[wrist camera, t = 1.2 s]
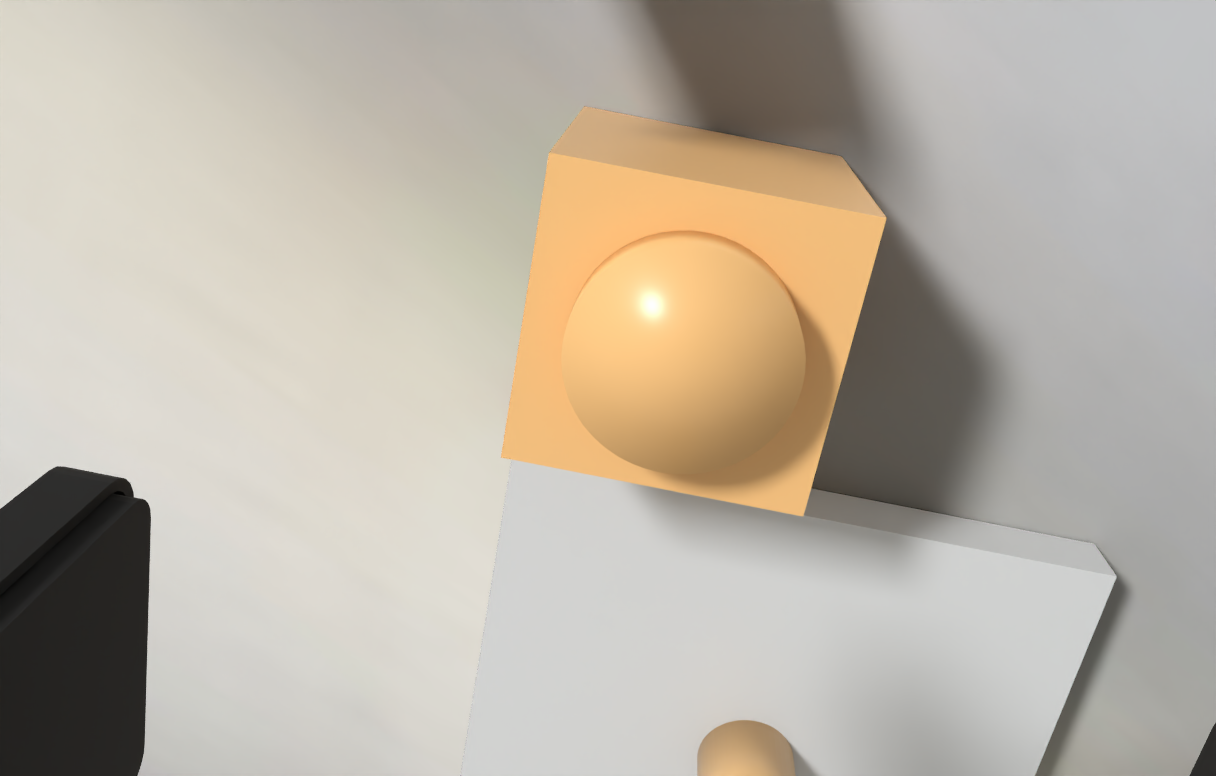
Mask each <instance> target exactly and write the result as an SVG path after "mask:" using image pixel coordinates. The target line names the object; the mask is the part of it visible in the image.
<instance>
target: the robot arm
mask: <svg viewBox="0 0 1216 776" xmlns="http://www.w3.org/2000/svg"><path fill="white" fill-rule="evenodd" d="M150 528H151V515H150V508H149V505H148V503H147V502H146V501H145V500H143V499H138V498H134V494H133V490H132V487H131V484H130V483H129V482H128V481H127V480H126V479H124V478H119V477H114V476H109V475H104V474H99V473H94V472H89V471H84V470H78V469H73V468H68V467H58V466H57V467H55V468H53V469H51V470H49V471H48V472H47V473H45V474H44V475H43V476H42V477H40V478H39V479H38V480H37V481H35V482H34V483H33V484H31V485H30V486H29V487H28V488H26V489H25V490H24V491H23V492H21V493H20V494H19V495H18V496H16V497H15V498H14V499H12V500H11V501H10V502H9V503H7V504H6V505H5V506H4V507H2V508H1V509H0V776H137V775H138V772H139V769H140V766H141V762H142V758H143V754H144V743H145V707H146V671H147V635H148V599H149V563H150ZM1190 776H1216V723H1215V725H1214V726H1213V728H1212V730H1211V732H1210V734H1209V736H1208V738H1207V741H1206V743H1205V745H1204V747H1203V749H1202V751H1201V753H1200V755H1199V757H1198V759H1197V761H1196V764H1195V766H1194V768H1193V770H1192V772H1191V774H1190Z"/></svg>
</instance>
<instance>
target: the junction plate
mask: <svg viewBox="0 0 1216 776" xmlns="http://www.w3.org/2000/svg"><path fill="white" fill-rule="evenodd" d="M1116 578H1117V576H1116V575H1115V573H1114V572H1113V570H1112V569H1111V567H1110V566H1109V564H1108V563H1107V561H1106V560H1105V558H1104V557H1103V555H1102V554H1101V553H1100V551H1099V550H1098V548H1097V547H1096V545H1095V544H1093V543H1088V542H1083V541H1077V540H1072V539H1067V538H1062V537H1057V536H1052V535H1047V534H1042V533H1037V532H1031V531H1026V530H1021V529H1016V528H1011V527H1006V526H1001V525H996V524H991V523H985V522H980V521H975V520H970V519H965V518H960V517H955V516H950V515H945V514H940V513H934V512H929V511H924V510H919V509H914V508H909V507H904V506H899V505H894V504H888V503H883V502H878V501H873V500H868V499H863V498H858V497H853V496H848V495H842V494H837V493H832V492H827V491H822V490H817V489H812V488H811V491H810V494H809V498H808V501H807V505H806V509H805V512H804V516H798V515H793V514H787V513H782V512H777V511H772V510H767V509H762V508H757V507H752V506H747V505H741V504H736V503H731V502H726V501H721V500H716V499H711V498H706V497H701V496H695V495H690V494H685V493H680V492H675V491H670V490H665V489H660V488H655V487H650V486H644V485H639V484H634V483H629V482H624V481H619V480H614V479H609V478H604V477H598V476H593V475H588V474H583V473H578V472H573V471H568V470H563V469H558V468H552V467H547V466H542V465H537V464H532V463H527V462H522V461H517V460H512V459H511V465H510V471H509V478H508V484H507V490H506V496H505V502H504V508H503V515H502V521H501V527H500V533H499V539H498V545H497V552H496V558H495V564H494V570H493V576H492V582H491V589H490V595H489V601H488V607H487V613H486V620H485V626H484V632H483V638H482V644H481V650H480V657H479V663H478V669H477V675H476V681H475V687H474V694H473V700H472V706H471V712H470V718H469V725H468V731H467V737H466V743H465V749H464V755H463V762H462V768H461V774H460V776H1035V774H1036V772H1037V769H1038V767H1039V765H1040V762H1041V760H1042V757H1043V755H1044V752H1045V750H1046V748H1047V745H1048V743H1049V740H1050V738H1051V735H1052V733H1053V731H1054V728H1055V726H1056V723H1057V721H1058V718H1059V716H1060V714H1061V711H1062V709H1063V706H1064V704H1065V701H1066V699H1067V697H1068V694H1069V692H1070V689H1071V687H1072V684H1073V682H1074V680H1075V677H1076V675H1077V672H1078V670H1079V667H1080V665H1081V663H1082V660H1083V658H1084V655H1085V653H1086V650H1087V648H1088V646H1089V643H1090V641H1091V638H1092V636H1093V633H1094V631H1095V629H1096V626H1097V624H1098V621H1099V619H1100V616H1101V614H1102V612H1103V609H1104V607H1105V604H1106V602H1107V599H1108V597H1109V595H1110V592H1111V590H1112V587H1113V585H1114V582H1115V580H1116Z"/></svg>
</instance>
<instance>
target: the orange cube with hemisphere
mask: <svg viewBox="0 0 1216 776" xmlns="http://www.w3.org/2000/svg"><path fill="white" fill-rule="evenodd" d="M886 219H887V218H886V216H885V215H884V214H883V212H882V211H881V210H880V208H879V207H878V205H877V204H876V203H875V201H874V200H873V199H872V197H871V196H870V194H869V193H868V192H867V190H866V189H865V188H864V186H863V185H862V184H861V182H860V181H859V179H858V178H857V177H856V175H855V174H854V173H853V171H852V170H851V168H850V167H849V166H848V164H847V163H846V162H845V160H844V159H843V157H842V156H838V155H833V154H827V153H822V152H817V151H812V150H807V149H802V148H797V147H791V146H786V145H781V144H776V143H771V142H766V141H760V140H755V139H750V138H745V137H740V136H735V135H730V134H724V133H719V132H714V131H709V130H704V129H699V128H694V127H688V126H683V125H678V124H673V123H668V122H663V121H658V120H652V119H647V118H642V117H637V116H632V115H627V114H622V113H616V112H611V111H606V110H601V109H596V108H591V107H585V106H584V107H583V109H582V110H581V111H580V113H579V114H578V115H577V117H576V118H575V119H574V120H573V122H572V123H571V124H570V126H569V127H568V128H567V130H566V131H565V132H564V134H563V135H562V136H561V138H560V139H559V140H558V141H557V143H556V144H555V145H554V147H553V148H552V149H551V151H550V152H549V157H548V163H547V169H546V176H545V182H544V188H543V195H542V201H541V207H540V214H539V220H538V226H537V233H536V239H535V245H534V252H533V258H532V264H531V271H530V277H529V283H528V290H527V296H526V302H525V309H524V315H523V321H522V328H521V334H520V340H519V347H518V353H517V359H516V366H515V372H514V378H513V385H512V391H511V397H510V404H509V410H508V416H507V423H506V429H505V435H504V442H503V448H502V454H501V458H507V459H512V460H517V461H522V462H527V463H532V464H537V465H542V466H547V467H552V468H558V469H563V470H568V471H573V472H578V473H583V474H588V475H593V476H598V477H604V478H609V479H614V480H619V481H624V482H629V483H634V484H639V485H644V486H650V487H655V488H660V489H665V490H670V491H675V492H680V493H685V494H690V495H695V496H701V497H706V498H711V499H716V500H721V501H726V502H731V503H736V504H741V505H747V506H752V507H757V508H762V509H767V510H772V511H777V512H782V513H787V514H793V515H798V516H804V512H805V509H806V505H807V501H808V498H809V494H810V491H811V487H812V483H813V480H814V476H815V473H816V469H817V466H818V462H819V458H820V455H821V451H822V448H823V444H824V441H825V437H826V433H827V430H828V426H829V423H830V419H831V416H832V412H833V408H834V405H835V401H836V398H837V394H838V390H839V387H840V383H841V380H842V376H843V373H844V369H845V365H846V362H847V358H848V355H849V351H850V348H851V344H852V340H853V337H854V333H855V330H856V326H857V322H858V319H859V315H860V312H861V308H862V305H863V301H864V297H865V294H866V290H867V287H868V283H869V280H870V276H871V272H872V269H873V265H874V262H875V258H876V254H877V251H878V247H879V244H880V240H881V237H882V233H883V229H884V226H885V222H886Z"/></svg>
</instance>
